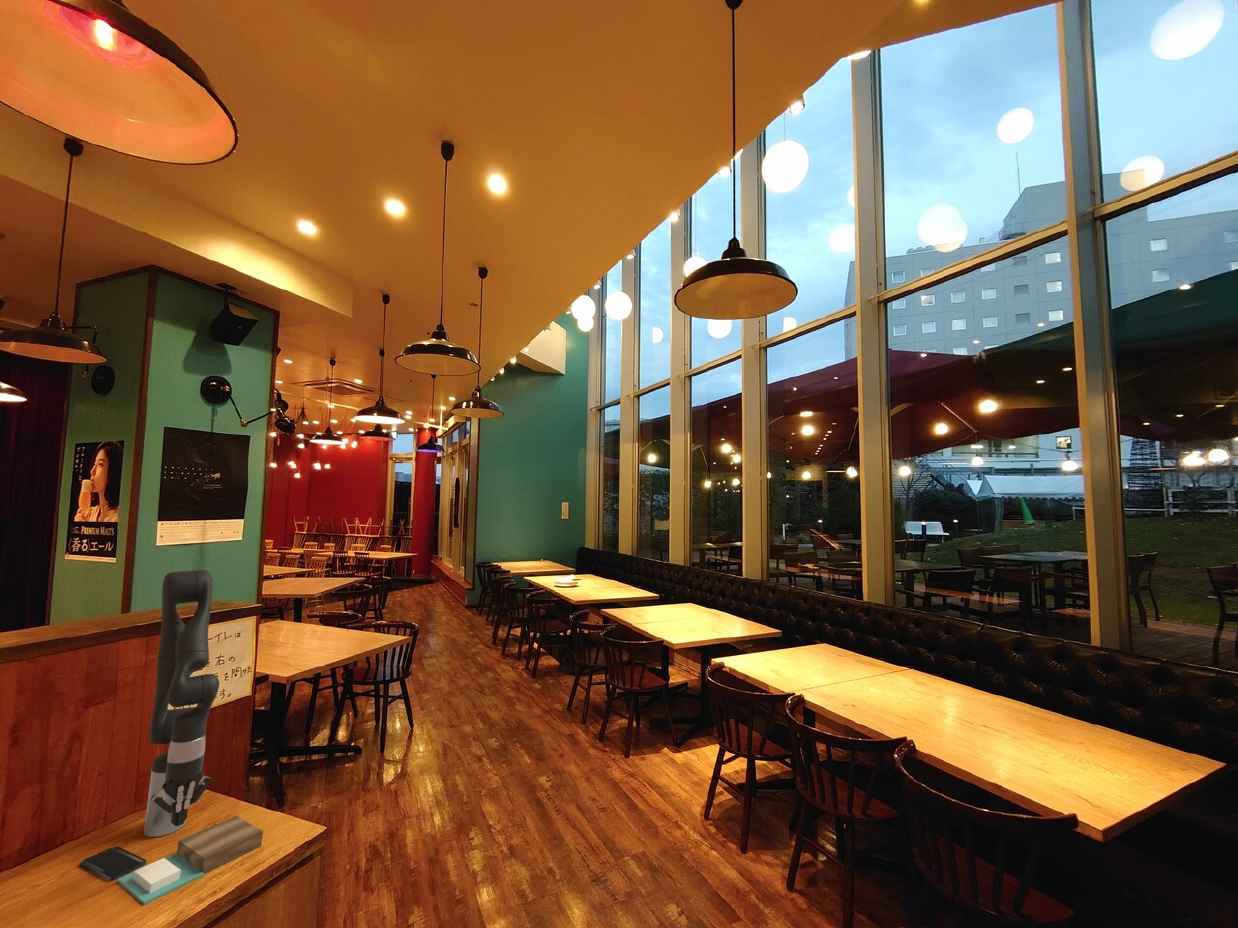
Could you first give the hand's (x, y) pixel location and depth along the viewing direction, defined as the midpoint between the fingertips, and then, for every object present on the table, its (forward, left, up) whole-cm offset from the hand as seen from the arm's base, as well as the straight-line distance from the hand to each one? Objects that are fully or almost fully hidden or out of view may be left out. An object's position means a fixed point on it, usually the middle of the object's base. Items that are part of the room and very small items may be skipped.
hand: (178, 824), depth 136 cm
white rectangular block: (0, -4, -10) cm, 11 cm away
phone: (-16, -6, -12) cm, 21 cm away
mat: (0, -2, -12) cm, 12 cm away
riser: (0, +11, -12) cm, 16 cm away
